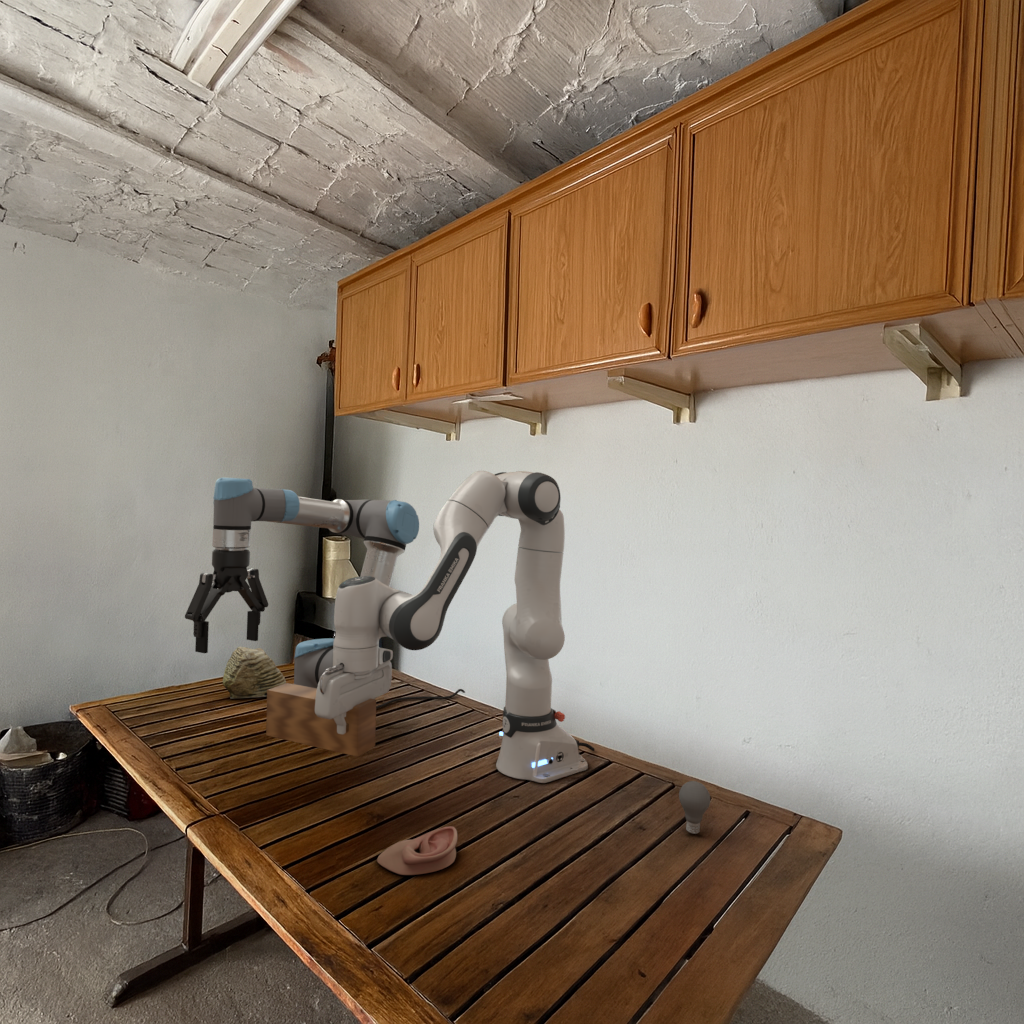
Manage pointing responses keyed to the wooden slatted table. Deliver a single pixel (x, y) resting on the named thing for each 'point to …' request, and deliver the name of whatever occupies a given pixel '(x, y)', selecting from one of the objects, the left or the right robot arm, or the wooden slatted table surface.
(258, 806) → the wooden slatted table surface
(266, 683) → the fossil
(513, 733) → the right robot arm
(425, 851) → the anatomical model
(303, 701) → the bar
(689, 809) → the light bulb
